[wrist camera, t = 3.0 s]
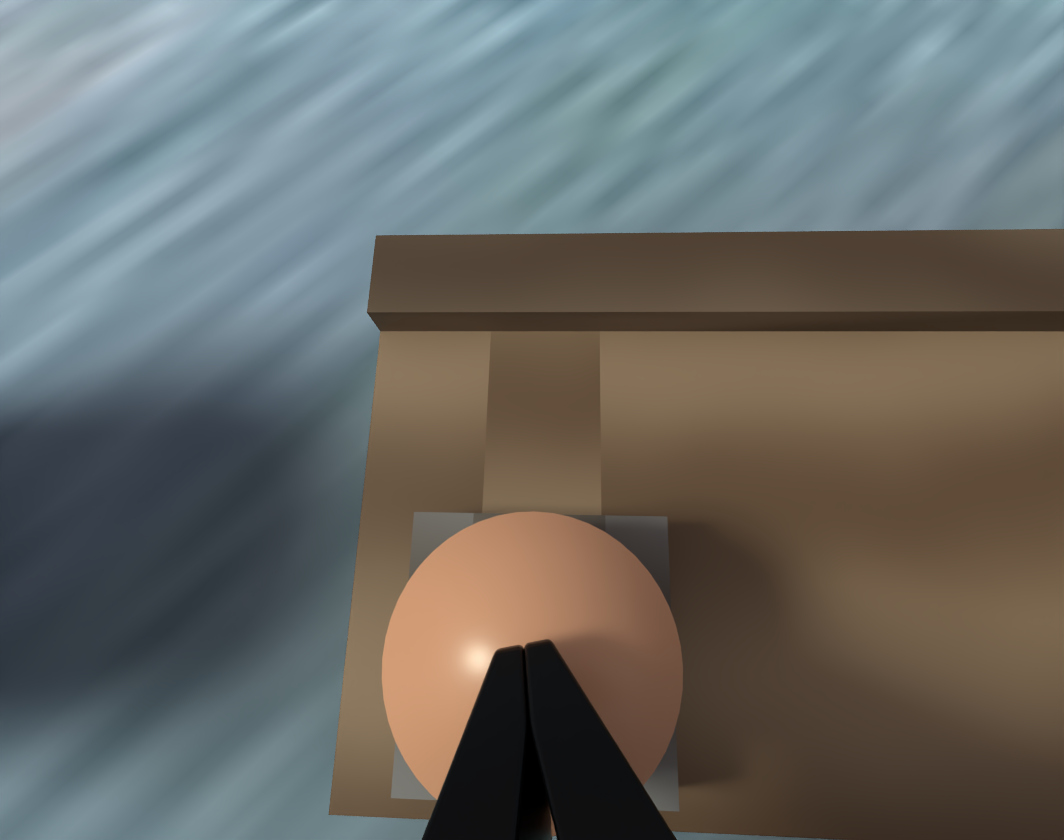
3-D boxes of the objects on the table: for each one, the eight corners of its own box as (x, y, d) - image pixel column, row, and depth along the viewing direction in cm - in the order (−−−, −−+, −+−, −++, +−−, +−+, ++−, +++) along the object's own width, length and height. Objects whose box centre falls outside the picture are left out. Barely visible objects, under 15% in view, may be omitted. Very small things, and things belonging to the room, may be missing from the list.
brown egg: (675, 638, 14) (748, 669, 9) (540, 783, 13) (523, 918, 8) (545, 503, 15) (534, 454, 10) (414, 631, 15) (322, 656, 9)
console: (1324, 803, 13) (1715, 913, 9) (382, 762, 15) (301, 840, 10) (1172, 320, 17) (1397, 220, 12) (420, 320, 18) (373, 230, 13)
